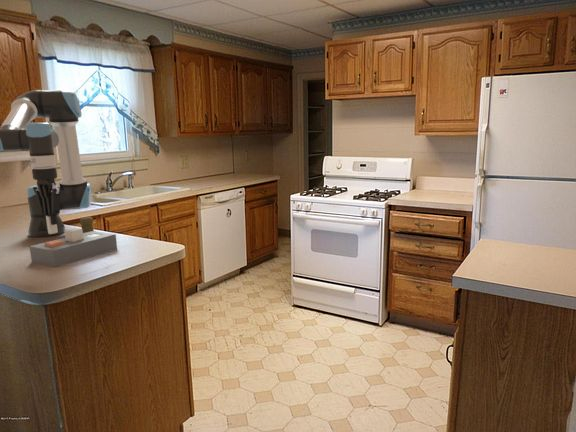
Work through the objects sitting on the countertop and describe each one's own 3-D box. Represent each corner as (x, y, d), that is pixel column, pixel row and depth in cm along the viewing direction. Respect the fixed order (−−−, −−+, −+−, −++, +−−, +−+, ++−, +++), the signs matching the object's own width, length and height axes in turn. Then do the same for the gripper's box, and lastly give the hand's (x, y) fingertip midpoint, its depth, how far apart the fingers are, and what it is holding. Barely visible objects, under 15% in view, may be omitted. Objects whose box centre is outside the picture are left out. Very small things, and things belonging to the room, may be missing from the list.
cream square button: (85, 246, 169) (84, 236, 168) (95, 243, 173) (94, 233, 172) (93, 247, 167) (91, 237, 166) (102, 244, 171) (101, 234, 170)
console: (31, 262, 156) (29, 246, 155) (94, 245, 178) (92, 230, 177) (55, 267, 149) (53, 250, 148) (117, 248, 171) (115, 234, 170)
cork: (92, 239, 187) (89, 215, 185) (99, 241, 183) (96, 216, 181) (78, 242, 182) (75, 217, 180) (85, 245, 178) (82, 219, 176)
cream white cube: (65, 240, 162) (64, 230, 161) (76, 238, 165) (74, 227, 165) (72, 241, 159) (71, 231, 159) (83, 239, 163) (82, 228, 162)
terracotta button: (46, 253, 155) (44, 242, 155) (57, 250, 159) (56, 239, 158) (53, 254, 153) (51, 244, 152) (64, 251, 157) (63, 241, 156)
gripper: (22, 168, 150) (32, 233, 155) (44, 169, 144) (54, 237, 149) (43, 166, 156) (52, 229, 161) (65, 167, 150) (74, 232, 155)
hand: (53, 233), depth 155 cm, fingers closed
